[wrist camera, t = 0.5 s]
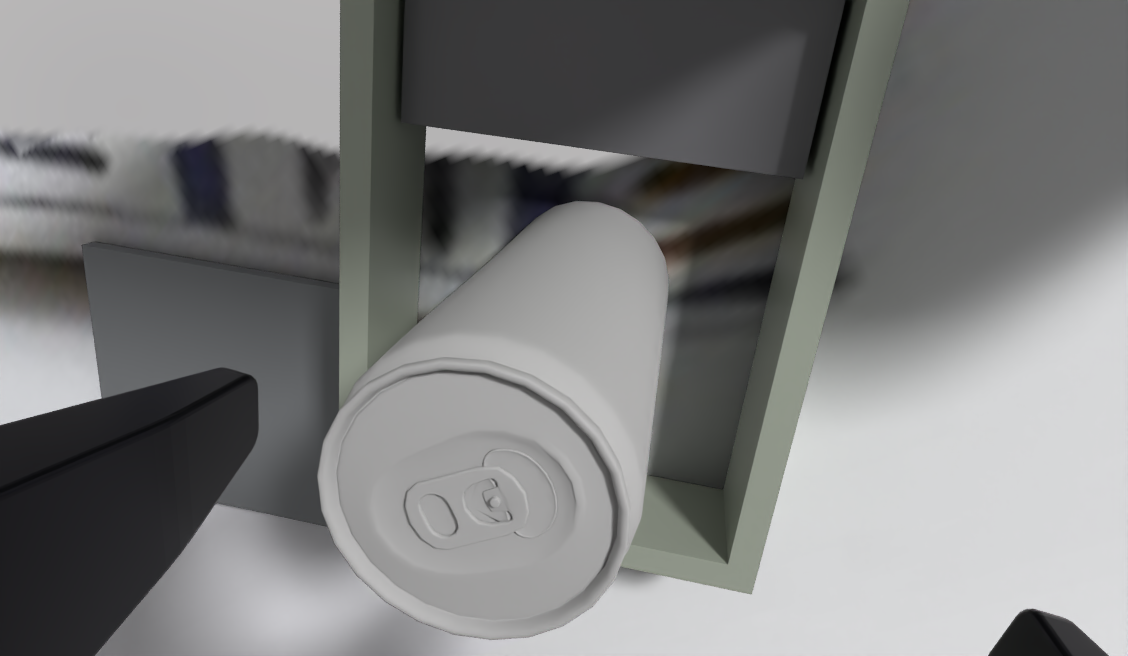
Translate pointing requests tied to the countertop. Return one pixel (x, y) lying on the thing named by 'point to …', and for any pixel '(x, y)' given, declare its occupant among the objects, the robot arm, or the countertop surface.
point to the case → (634, 127)
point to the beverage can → (508, 433)
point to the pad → (227, 355)
